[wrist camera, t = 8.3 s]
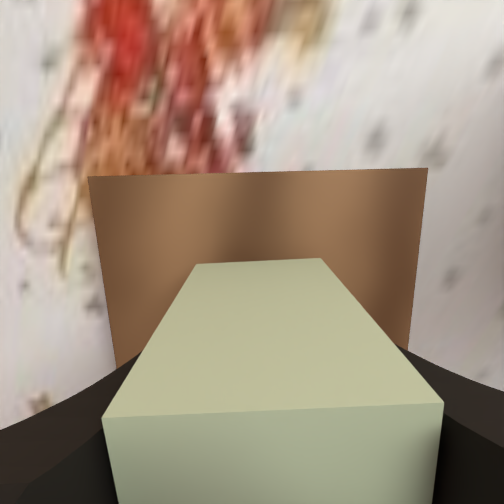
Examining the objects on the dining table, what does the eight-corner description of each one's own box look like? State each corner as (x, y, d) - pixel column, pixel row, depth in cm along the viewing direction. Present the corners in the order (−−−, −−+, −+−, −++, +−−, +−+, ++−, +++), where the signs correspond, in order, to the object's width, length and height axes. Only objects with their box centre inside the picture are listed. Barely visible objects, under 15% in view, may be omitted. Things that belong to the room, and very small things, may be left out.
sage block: (320, 257, 12) (444, 402, 4) (319, 367, 13) (416, 631, 6) (196, 263, 12) (101, 417, 4) (206, 372, 13) (147, 641, 6)
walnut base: (404, 168, 14) (428, 167, 12) (383, 386, 17) (400, 413, 15) (109, 176, 14) (87, 176, 12) (138, 392, 17) (124, 419, 15)
